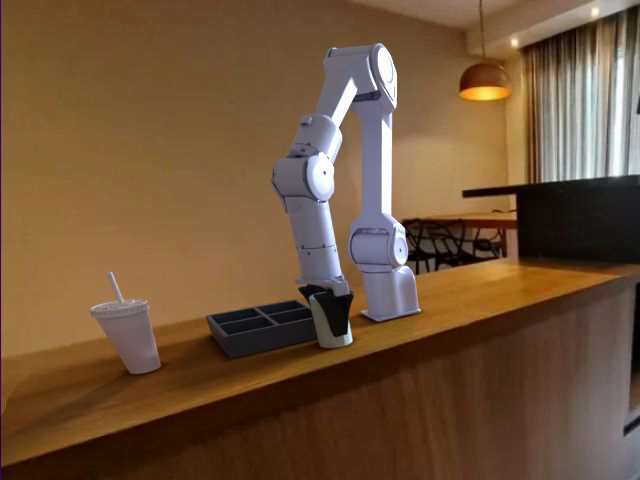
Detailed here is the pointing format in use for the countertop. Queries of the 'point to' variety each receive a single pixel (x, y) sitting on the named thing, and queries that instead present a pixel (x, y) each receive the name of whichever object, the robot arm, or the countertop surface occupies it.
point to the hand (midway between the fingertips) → (333, 331)
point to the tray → (262, 327)
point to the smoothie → (129, 330)
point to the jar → (326, 328)
